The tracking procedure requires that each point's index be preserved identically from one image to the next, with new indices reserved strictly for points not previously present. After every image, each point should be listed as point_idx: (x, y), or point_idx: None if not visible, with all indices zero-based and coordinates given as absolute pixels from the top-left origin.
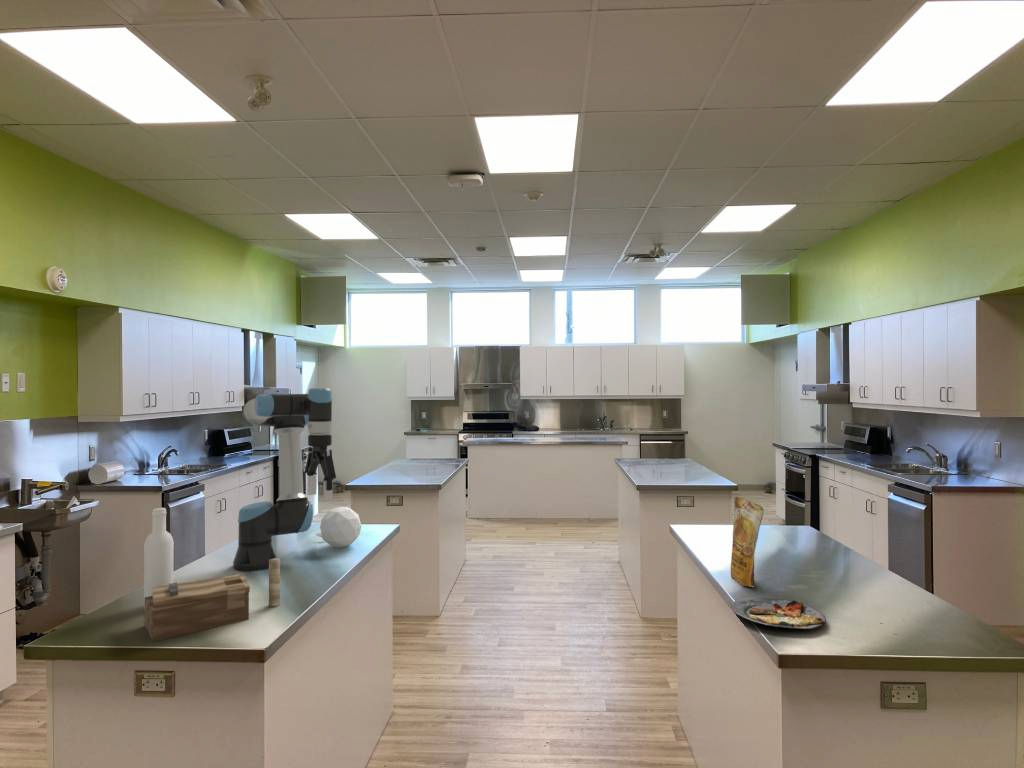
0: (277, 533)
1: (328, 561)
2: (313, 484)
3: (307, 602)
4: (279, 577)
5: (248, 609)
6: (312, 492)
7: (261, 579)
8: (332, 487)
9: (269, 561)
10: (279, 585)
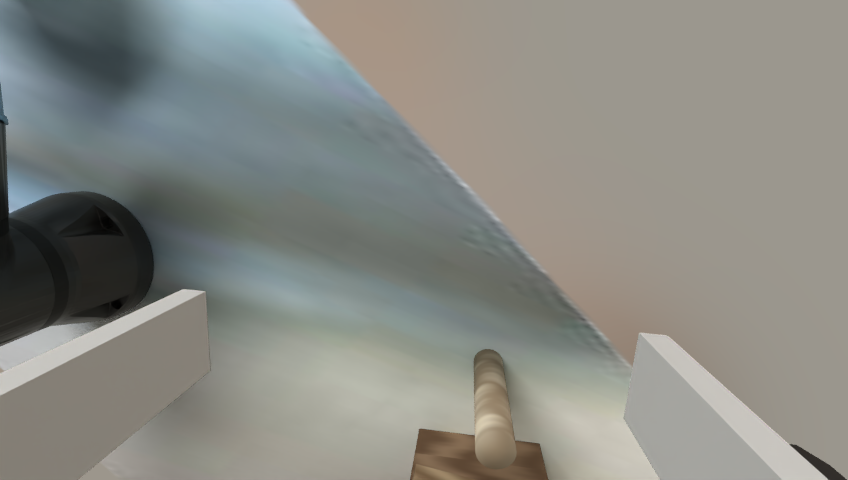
0: (8, 216)
1: (181, 45)
2: (112, 381)
3: (536, 292)
4: (505, 399)
5: (543, 462)
6: (191, 340)
7: (244, 296)
8: (775, 433)
9: (496, 467)
10: (503, 383)
